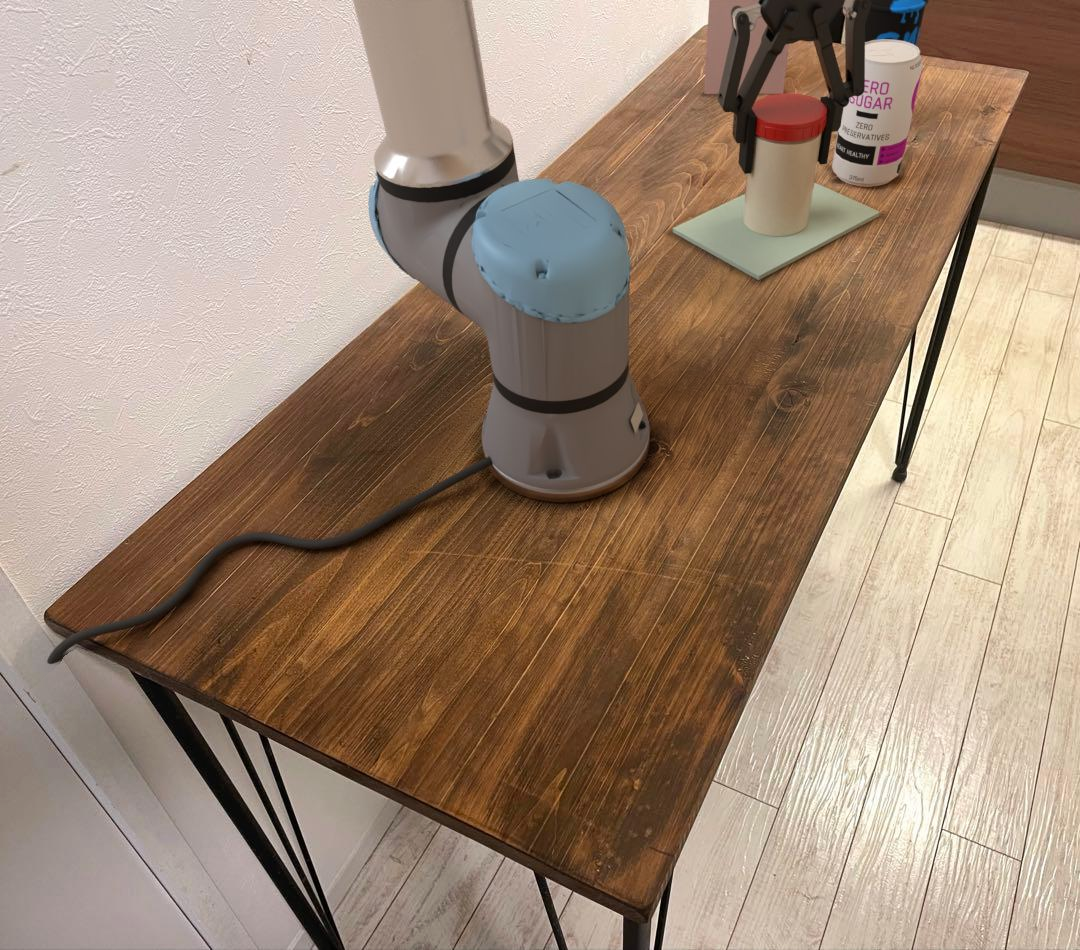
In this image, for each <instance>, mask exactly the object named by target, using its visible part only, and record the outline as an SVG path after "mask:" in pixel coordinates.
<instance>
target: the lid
mask: <svg viewBox="0 0 1080 950" xmlns="http://www.w3.org/2000/svg"><path fill="white" fill-rule="evenodd" d="M752 110H753V111H754V113H755V114H756V116H757V117H756V128H755V134H756V135H758V136H760V137H762V138H765V139H768V140H773V141H780V142H796V141H803V140H807V139H811V138H813V137H816V136H817V135H819V134H820V133H821V132H822V131H824V127H826V120H827V116H826V115H827V107H826V105H825V104H824V103H823V102H822V101H820V99H819V98H817V97H814V96H811V95H807V94H801V93H783V94H769V95H767V96H764V97H761V98H759V99H758V100H757V99H756V100H755V103H754V105H753V107H752Z"/></svg>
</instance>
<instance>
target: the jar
mask: <svg viewBox="0 0 1080 950" xmlns="http://www.w3.org/2000/svg"><path fill="white" fill-rule="evenodd" d="M821 136H822V132H821V133H820V134H819V135H817V136H816V137H813V138H811V139H807V140H803V141H796V142H780V141H773V140H768V139H765V138H762V137H760V136H758V135H756V134H755V139H754V150H753V161H752V171H751V173H749V174H746V177H745V189H744V190H745V191H744V194H745V200H744V211H743V222H744V224H745V225H746V227H747V228H749V229H750V230H752V231H754V232H756V233H759V234H762V235H767V236H787V235H792V234H795V233H798V232H800V231H802V230H803V229H805V228H806V226H807V225H808V223H809V217H810V210H811V203H812V197H813V190H814V183H816V176H817V169H818V164H819V162H818V156H819V150H820V143H821Z"/></svg>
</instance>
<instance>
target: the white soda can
mask: <svg viewBox="0 0 1080 950" xmlns="http://www.w3.org/2000/svg"><path fill="white" fill-rule="evenodd" d="M923 68H924V64H923V61H922V57H921V49H920V48H919V47H918V45H917V46H915V45H914V44H911V43H908V42H905V41H900V40H892V39H881V40H872V41H869V42H865V90H864V92H863V94H862V95H860V96H853V97H851V98H849V103H848V105H847V106H845V107H844V108H843V114H842V120H841V126H840V128H839V130H838V131H836V137H835V143H834V150H833V158H832V162H831V168H832V172H833V173H834V174H836V177H837V178H838V179H840V180H841V181H842V182H844V183H846V184H848V185H852V186H857V187H864V188H865V187H866V188H871V187H879V186H883V185H885V184H888V183H890V182H891V181H892V180H894V179H895V178H896V177H898V176H899V175H900V172H901V170H902V165H903V161H904V157H905V152H906V147H907V142H908V137H909V134H910V129H911V125H912V124H911V123H912V120H913V115H914V111H915V105H916V101H917V97H918V92H919V87H920V83H921V77H922V73H923Z"/></svg>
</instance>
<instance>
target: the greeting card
mask: <svg viewBox="0 0 1080 950" xmlns="http://www.w3.org/2000/svg"><path fill="white" fill-rule="evenodd" d="M758 2H759V0H708V14H707V15H708V16H707V33H706V50H705V52H706V54H705V70H704V91H703V95H718V93H719V89H720V84H721V80H722V75H723V71H724V66H725V62H726V57H727V53H728V48H729V44H730V39H731V35H732V21H731V10H732V8H733V7H734V6H741V8H745V7H748V6H752V5H755V4H758ZM766 27H767V24H766V23H765V21H764V20H763V18H762V17H759V18H758V19H757V21H756V25H755V28H754V29H753V30H752V31H750V41H749V46H748V50H747V54H746V59H745V63H744V67H743V71H742V75H741V80H740V84H739V88H740V86H741V84H742V82H743V80H744V78H745V76H746V74H747V72H748V69H749V67H750V65H751V63H752V61H753V59H754V57H755V55H756V53H757V51H758V49H759V46H760V44H761V38H762V36H763V33H764V31H765V29H766ZM789 46H790V44H785V46H784V48H783V50H782V52H781V54H779V55H778V56H777V58H776V60H775V62H774V64H773V66H772V68H771V70H770V72H769V74H768V76H767V78H766V80H765V82H764V84H763V86H762V88H761V90H760V92H759V94H758V95H775V94H784V92H785V91H784V90H785V82H786V81H785V80H786V73H787V65H788V64H787V63H788V56H789V55H788V54H789ZM739 88H738V90H739ZM737 93H738V92H737Z"/></svg>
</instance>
